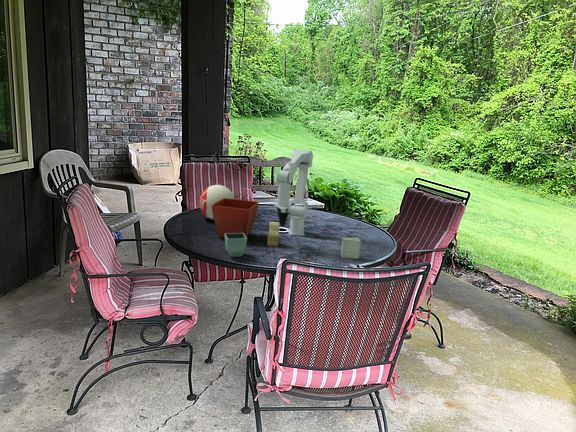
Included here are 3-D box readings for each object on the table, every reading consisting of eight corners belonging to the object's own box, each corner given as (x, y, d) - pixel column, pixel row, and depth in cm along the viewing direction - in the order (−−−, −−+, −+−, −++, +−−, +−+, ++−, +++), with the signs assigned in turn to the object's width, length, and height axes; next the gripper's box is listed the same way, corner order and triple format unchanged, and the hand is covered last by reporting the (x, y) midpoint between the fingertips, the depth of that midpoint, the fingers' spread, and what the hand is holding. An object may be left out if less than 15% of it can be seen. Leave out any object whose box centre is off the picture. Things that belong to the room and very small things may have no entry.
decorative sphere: (201, 214, 276) (201, 181, 271) (235, 216, 277) (236, 183, 272) (196, 223, 256) (197, 187, 252) (233, 224, 258) (234, 189, 253)
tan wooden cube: (267, 242, 229) (267, 232, 228) (277, 243, 230) (278, 233, 228) (267, 245, 224) (268, 235, 223) (277, 246, 225) (278, 236, 224)
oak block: (269, 233, 228) (269, 222, 227) (278, 233, 228) (279, 222, 227) (269, 235, 224) (270, 224, 222) (278, 235, 224) (279, 224, 223)
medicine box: (357, 256, 217) (359, 238, 215) (359, 259, 213) (360, 240, 211) (340, 255, 217) (342, 237, 215) (341, 258, 212) (343, 240, 210)
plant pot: (247, 243, 227) (249, 209, 223) (210, 238, 230) (210, 205, 226) (257, 233, 245) (259, 201, 241) (222, 229, 248) (223, 197, 244)
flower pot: (226, 258, 202) (227, 238, 200) (223, 252, 210) (224, 233, 208) (246, 258, 205) (247, 238, 202) (243, 251, 213) (243, 232, 211)
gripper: (275, 192, 228) (273, 219, 232) (275, 198, 214) (273, 227, 218) (289, 193, 229) (287, 220, 232) (290, 199, 215) (289, 228, 218)
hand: (282, 223), depth 225 cm, fingers open, 7 cm apart
